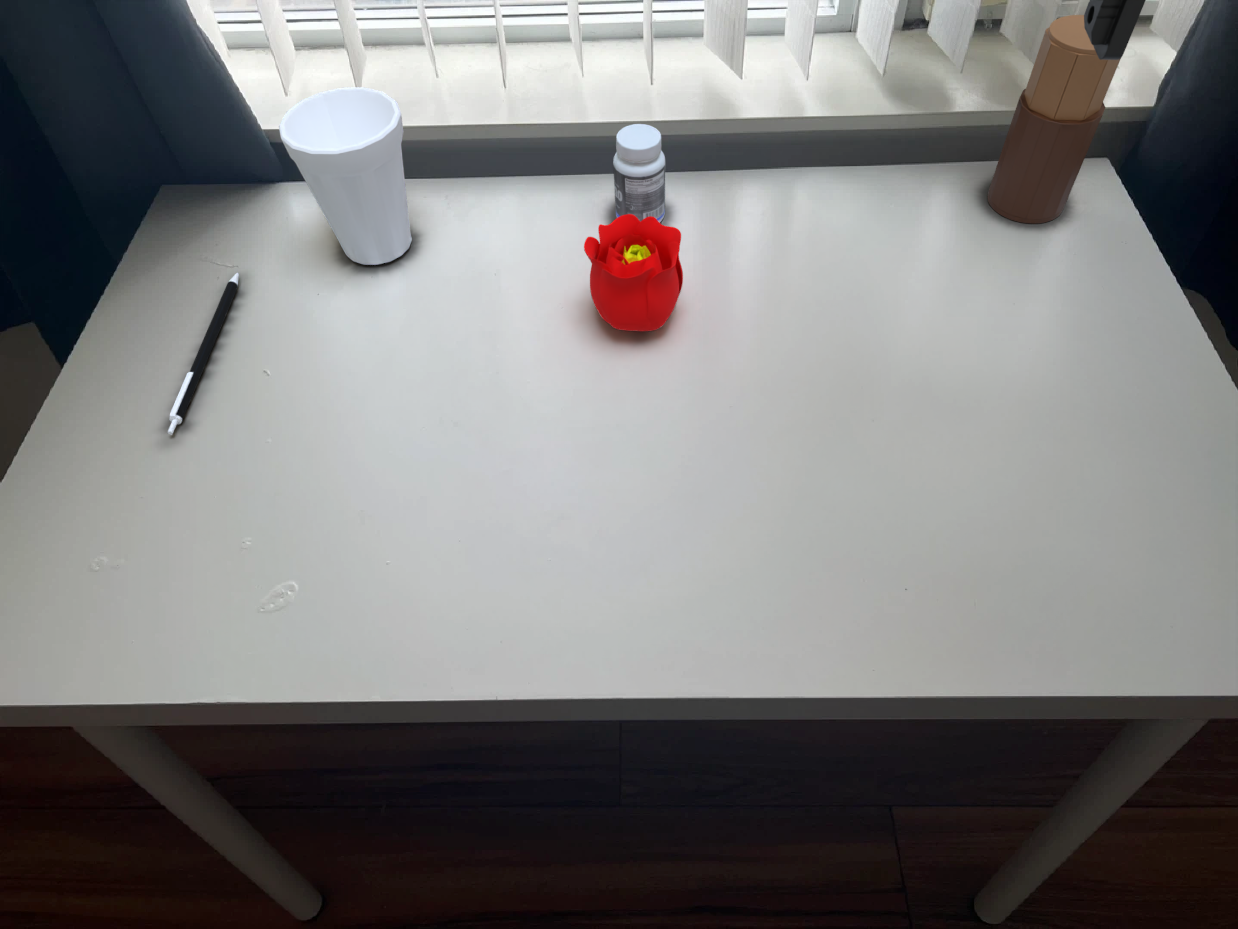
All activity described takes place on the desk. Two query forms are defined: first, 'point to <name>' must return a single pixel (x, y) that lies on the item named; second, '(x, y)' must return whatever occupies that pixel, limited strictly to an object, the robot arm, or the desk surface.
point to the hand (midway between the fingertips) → (1213, 52)
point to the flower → (635, 272)
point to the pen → (202, 355)
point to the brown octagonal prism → (1068, 73)
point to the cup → (353, 168)
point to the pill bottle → (639, 172)
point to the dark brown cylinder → (1039, 164)
